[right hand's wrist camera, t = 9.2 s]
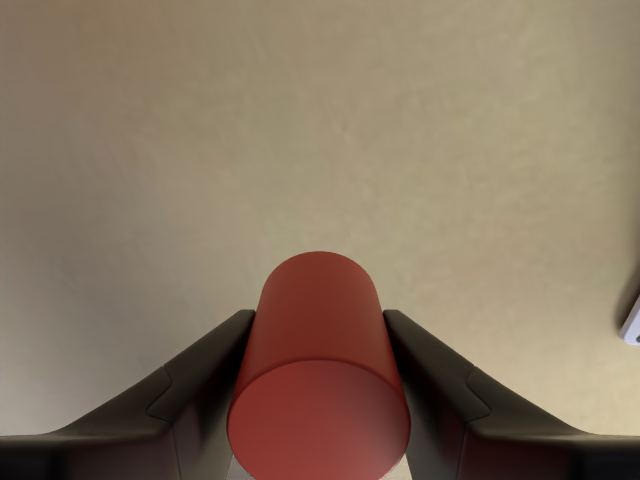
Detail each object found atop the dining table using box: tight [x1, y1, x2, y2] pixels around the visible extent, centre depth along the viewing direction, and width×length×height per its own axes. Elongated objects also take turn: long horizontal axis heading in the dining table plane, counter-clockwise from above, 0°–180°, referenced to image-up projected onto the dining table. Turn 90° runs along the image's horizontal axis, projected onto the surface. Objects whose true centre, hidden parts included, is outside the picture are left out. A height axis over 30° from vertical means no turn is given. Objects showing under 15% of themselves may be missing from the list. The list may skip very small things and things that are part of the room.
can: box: [226, 251, 411, 480], centre depth 10 cm, size 4×4×5 cm
